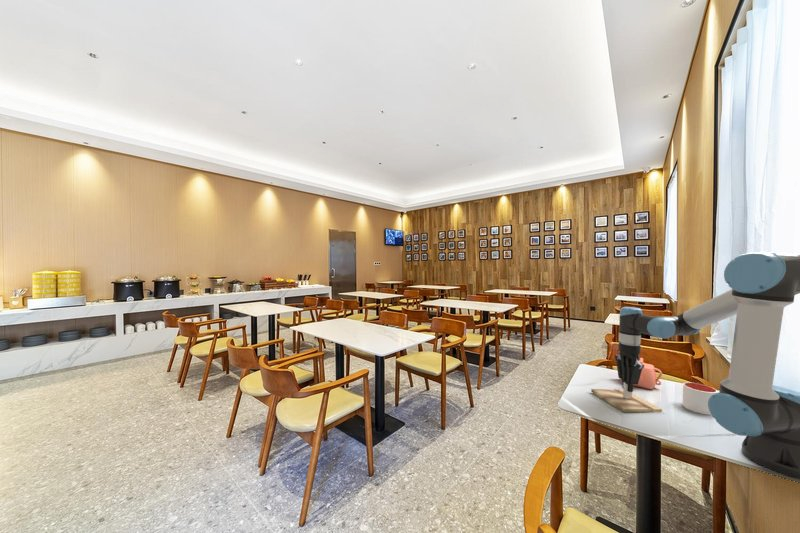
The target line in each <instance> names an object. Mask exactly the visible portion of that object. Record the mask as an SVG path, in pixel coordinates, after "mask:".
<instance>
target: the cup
mask: <svg viewBox="0 0 800 533" xmlns="http://www.w3.org/2000/svg"><path fill="white" fill-rule="evenodd" d="M716 393H718V390H717V389H716V388H714V387H711V386H709V385H705V384H701V383H697V382H696V383H695V382H691V381H690V382H683V383H682V399H681V400H682V401H681V402H682V407H683V408H686V409H687V410H689V411H692V412H695V413H698V414H702V415H708V416H709V415H710V416H712V415H711V413H710V411H709V408H708V400H709V398H710V397H711V396H712V395H714V394H716Z"/></svg>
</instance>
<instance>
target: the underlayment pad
mask: <svg viewBox="0 0 800 533" xmlns="http://www.w3.org/2000/svg"><path fill="white" fill-rule="evenodd" d="M617 390H618V391H619V392H621V393H623V389H617ZM585 392H586V393H585V394H588V395H589V396H591V397H593V398H594V399H595V400H597V401H599V402H600V403H601V404H603V405H605V406H606V407H608V408H609V409H612V411H614V412H616V413H617V414H618V415H623V416H624V415H626V416H627V415H658V414H659V415H660V414H666V412H663V409H662V408H660V407H658V406H657V405H655V404H653V403H651V402H650V401H648V400H647V399H644V398H642V397H640V396H638V395H636V394H635V393H632V399H634V400H636V401H638V402H639V403H641V404H643V405H645V406H647V407H648V408H650V409H652V410H651V412H623V411H621V410H620V409H618V408H617V407H615V406H613V405H612V404H610V403H609V402H607V401H605V400H604V399H602V398H601V397H599V396H597V395H596V394H594V393H593V392H591V391H585Z"/></svg>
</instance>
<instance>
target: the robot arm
mask: <svg viewBox="0 0 800 533" xmlns="http://www.w3.org/2000/svg"><path fill="white" fill-rule="evenodd" d="M723 278H724V281H725V283H727V284H728V287H730V288H731V289H729V290H727V291H725V292H723V293H721V294H719V295H716V296H715V297H713V298H710V299H709V300H706V301H704V302H702V303H700V304H698V305H695V306H694V307H692V308H689V309H688V310H685V311H683V312H681V313H678V314H677V315H674V316H670V315H669V316H667V315H666V316H665V315H664V316H655V315H654V316H653V315H647V314H643V310H642V309H641V308H639V307H634V306H622V307H621V308H620V310H619V315H618V318H619V327H618V347H617V348H618V352H619V354H615V355H614V359H615V361H616V363H615V364H616V370H617V374H618V379H620V380H621V382H622V387H621V388H622V390H623V398H625V399H632V394H633V392H634V384H638V382H639V379H640V375H641V371H642V369H643V368H644V364H641V363H640V362H639V360H640V358H639V356H640V355H641V346H642V345H641V341H642V334H644V335H648V336H652V337H655V338H656V339H657V338H659V339H660V338H661V339H664V340H665V339H666V340H668V339H670V338H671V337H673V336H692V335H697V334H699V333H700V332H701V330H702V329H703V328H704V329H705V328H707V327H709V326H711V325H714V324H716V323H718V322H721V321H724V320H726V319H728V318H731V317H733V316H735V315H736V317H735V326H734V332H733V341H732V348H731V357H730V363H729V364H730V365H729V372H728V377H727V378H725V379H723V380H721V381H720V384H719V391H718V392H717V393H716V394H714V395H712V396H711V397H710V398H709V400H708V408H709V411H710V413H711V415H710V416H711V417H712V418H714V419H715V421H716V423H717V424H718V425H719V426H721V427H722V428H723V429H725V430H726V431H727V432H729V433H732V434H735V435H737V436H744V437H745V438H744V439H743V441H742V442H741V452H742V454H743V455H745V456H746V457H747V458H748V459H750V460H751V461H753V462H755V463H756V464H758V465H760V466H762V467H764V468H767V469H769V470H772V471H775V472H777V473H780V474H783V475H785V474H786V476H790V477H793V478H798V479H800V392H799V391H796V390H793V389H790V388H786V387H784V386H783V387H782V386H778V385H774V378H775V371H776V370H775V369H776V365H777V363H776V362H777V356H778V350H779V343H780V336H781V331H782V330H781V329H782V323H783V316H784V309H785V307H787V306H789V305H791V304H793V303H794V302H795V295H796V296H797V295H799V294H800V253H796V252H771V251H769V252H768V251H755V252H748V253H743V254H740V255H738V256H736V257H734V258H733V259H731V260H730V261H729V262H728V263H727V265H726V266H725V268H724V271H723ZM621 375H622V376H621Z"/></svg>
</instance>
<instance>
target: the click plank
mask: <svg viewBox="0 0 800 533" xmlns="http://www.w3.org/2000/svg"><path fill="white" fill-rule="evenodd" d="M590 390H591V391H590V392H593V393H594V394H596V395H597V396H599V397H601V398H602V399H604V400H605V401H607V402H609V403H610V404H612V405H613V406H615V407H617V408H618V409H620V410H621V411H623V412H651V410H652V409H650V408H648V407H647V406H645V405H643V404H641V403H639V402H638V401H636V400H634V399H625V398H623V393H621V392H619V391H618V390H619V389H615V388H614V389H612V388H611V389H608V388H607V389H606V388H604V389H603V388H602V389H601V388H591V389H590Z"/></svg>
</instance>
